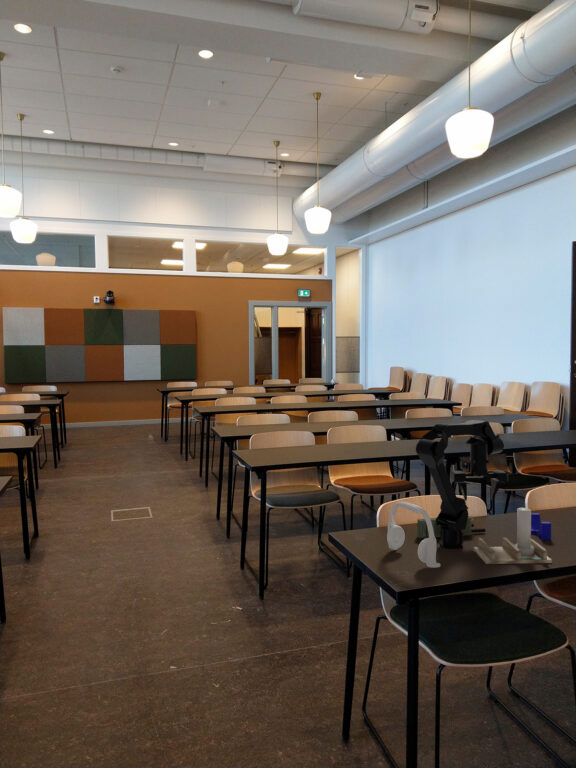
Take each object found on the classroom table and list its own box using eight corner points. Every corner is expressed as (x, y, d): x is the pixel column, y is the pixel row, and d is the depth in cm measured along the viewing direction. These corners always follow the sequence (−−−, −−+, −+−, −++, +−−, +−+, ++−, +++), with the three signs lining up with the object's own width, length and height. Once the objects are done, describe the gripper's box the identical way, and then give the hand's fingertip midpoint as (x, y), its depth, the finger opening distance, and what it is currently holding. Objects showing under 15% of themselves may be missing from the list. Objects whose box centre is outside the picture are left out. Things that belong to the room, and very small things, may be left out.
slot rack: (486, 563, 172) (486, 551, 172) (473, 550, 184) (473, 538, 184) (551, 562, 172) (551, 550, 171) (534, 549, 184) (534, 537, 183)
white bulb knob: (512, 554, 177) (512, 510, 176) (515, 548, 182) (515, 506, 181) (533, 557, 174) (533, 513, 173) (535, 551, 179) (535, 508, 178)
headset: (382, 551, 184) (382, 497, 183) (400, 547, 187) (399, 495, 186) (424, 572, 166) (424, 513, 165) (442, 567, 170) (442, 509, 169)
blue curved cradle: (525, 529, 205) (525, 513, 204) (538, 529, 204) (538, 513, 204) (537, 540, 193) (537, 523, 192) (550, 540, 192) (551, 523, 192)
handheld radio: (416, 536, 199) (482, 531, 203) (419, 539, 196) (487, 535, 199) (416, 518, 198) (483, 514, 202) (420, 521, 195) (487, 517, 199)
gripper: (497, 451, 203) (496, 494, 204) (445, 452, 203) (445, 494, 204) (509, 457, 192) (508, 502, 193) (454, 458, 192) (454, 503, 193)
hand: (478, 500), depth 196 cm, fingers open, 9 cm apart
